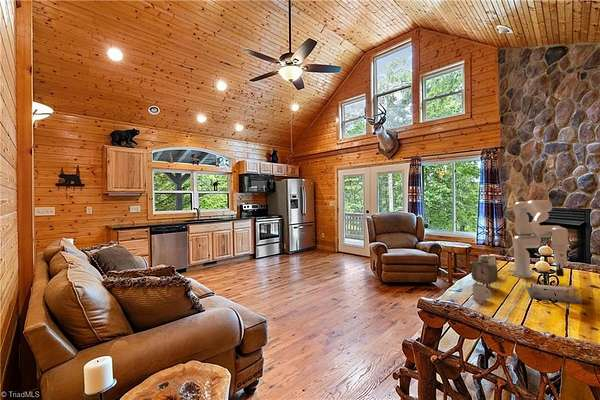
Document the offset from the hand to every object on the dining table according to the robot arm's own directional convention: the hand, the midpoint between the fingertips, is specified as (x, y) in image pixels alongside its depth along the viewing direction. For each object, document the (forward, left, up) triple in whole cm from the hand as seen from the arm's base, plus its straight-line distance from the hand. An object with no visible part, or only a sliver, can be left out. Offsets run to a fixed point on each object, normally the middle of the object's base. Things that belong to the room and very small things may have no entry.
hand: (559, 275), depth 180 cm
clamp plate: (-4, 0, -14) cm, 14 cm away
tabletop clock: (-40, +5, -14) cm, 42 cm away
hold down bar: (-3, 0, -9) cm, 9 cm away
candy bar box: (-38, +36, -14) cm, 54 cm away
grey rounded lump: (-42, -24, -14) cm, 50 cm away
